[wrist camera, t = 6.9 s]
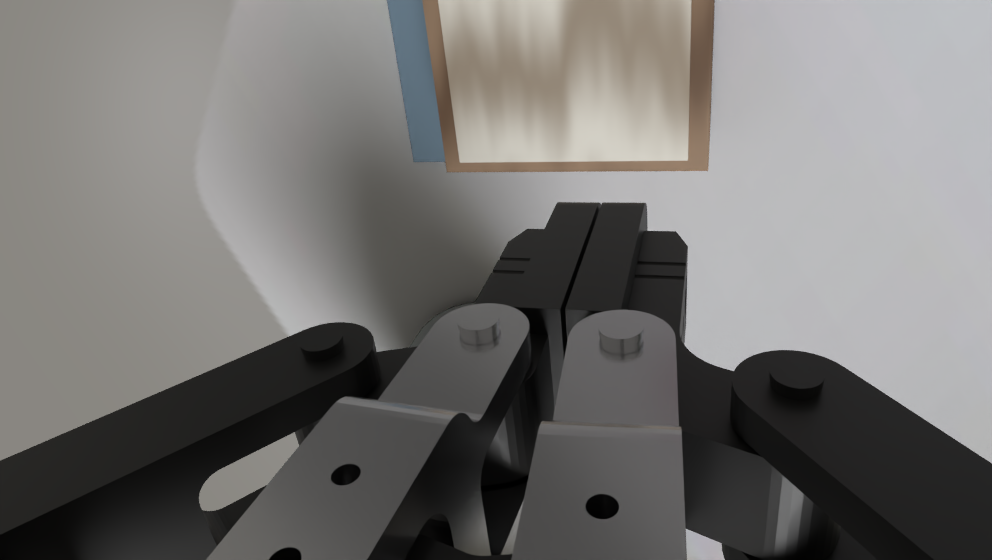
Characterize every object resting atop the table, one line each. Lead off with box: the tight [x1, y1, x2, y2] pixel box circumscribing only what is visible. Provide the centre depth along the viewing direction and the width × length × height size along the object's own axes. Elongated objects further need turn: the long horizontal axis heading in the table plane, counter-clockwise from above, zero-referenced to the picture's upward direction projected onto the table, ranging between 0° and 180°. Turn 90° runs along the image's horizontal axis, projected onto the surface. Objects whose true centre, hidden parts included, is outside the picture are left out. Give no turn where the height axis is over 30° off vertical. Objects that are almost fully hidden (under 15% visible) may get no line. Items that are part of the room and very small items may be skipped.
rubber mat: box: [387, 0, 445, 162], centre depth 30 cm, size 10×12×1 cm
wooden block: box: [422, 0, 715, 172], centre depth 27 cm, size 8×4×10 cm
